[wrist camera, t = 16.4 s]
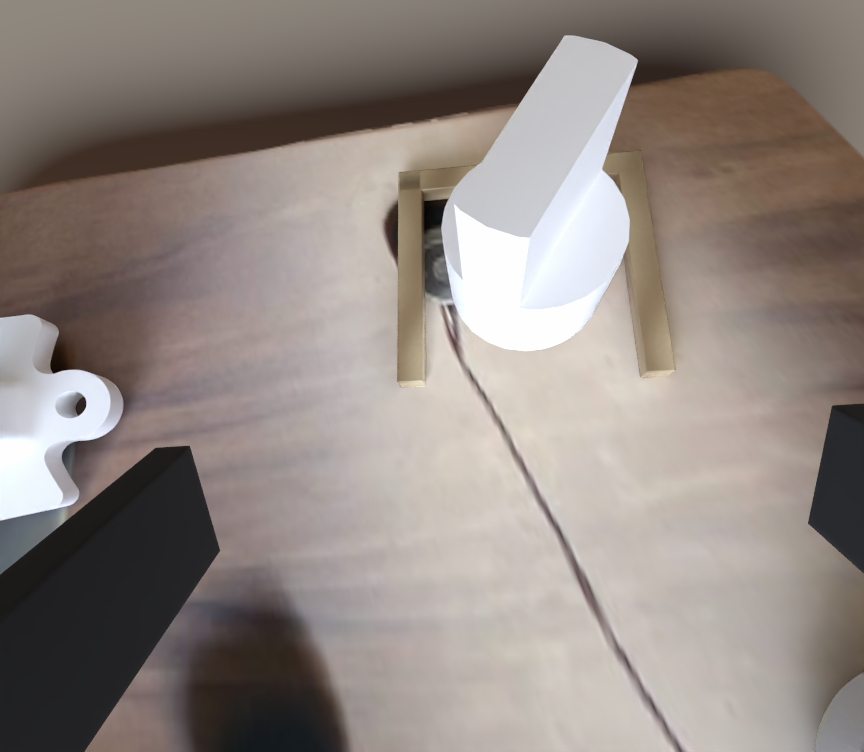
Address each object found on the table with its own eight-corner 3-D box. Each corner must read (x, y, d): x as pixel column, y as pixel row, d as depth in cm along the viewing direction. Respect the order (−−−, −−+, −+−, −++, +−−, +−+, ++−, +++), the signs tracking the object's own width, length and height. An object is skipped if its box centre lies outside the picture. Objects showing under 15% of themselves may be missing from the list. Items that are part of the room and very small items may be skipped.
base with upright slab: (556, 378, 27) (606, 282, 16) (423, 308, 29) (380, 178, 18) (627, 252, 29) (720, 81, 17) (496, 194, 31) (500, 7, 19)
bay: (400, 387, 28) (397, 382, 27) (401, 183, 32) (398, 171, 31) (668, 376, 26) (676, 370, 25) (635, 163, 30) (641, 149, 29)
